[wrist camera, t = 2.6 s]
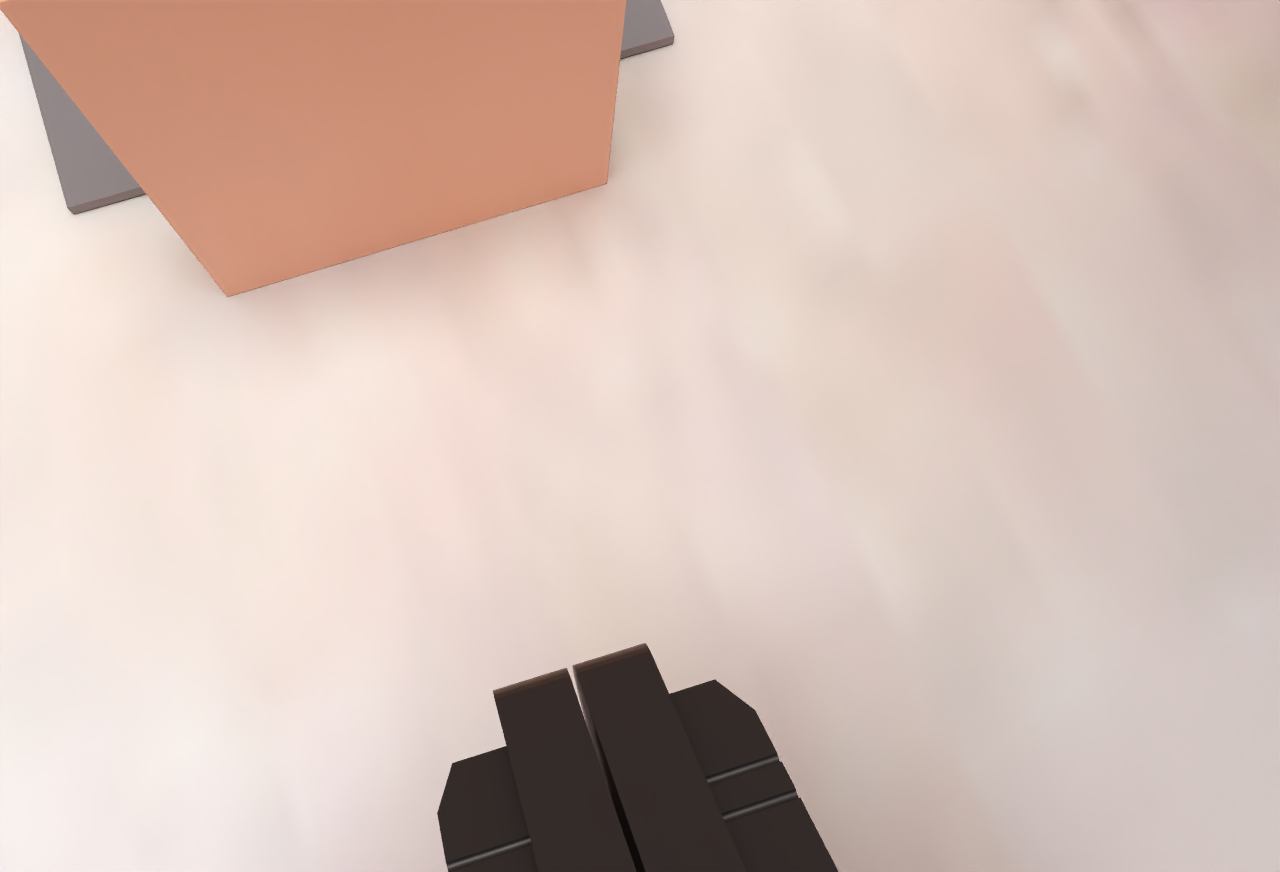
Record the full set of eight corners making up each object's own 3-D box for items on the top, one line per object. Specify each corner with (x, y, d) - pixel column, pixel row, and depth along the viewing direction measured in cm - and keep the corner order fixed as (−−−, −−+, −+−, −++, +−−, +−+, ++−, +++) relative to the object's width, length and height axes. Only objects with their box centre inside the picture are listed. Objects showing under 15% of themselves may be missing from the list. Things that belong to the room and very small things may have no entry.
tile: (575, 99, 32) (591, -295, 20) (606, 183, 32) (643, -164, 19) (200, 207, 31) (-44, -142, 18) (227, 297, 30) (-4, 4, 18)
